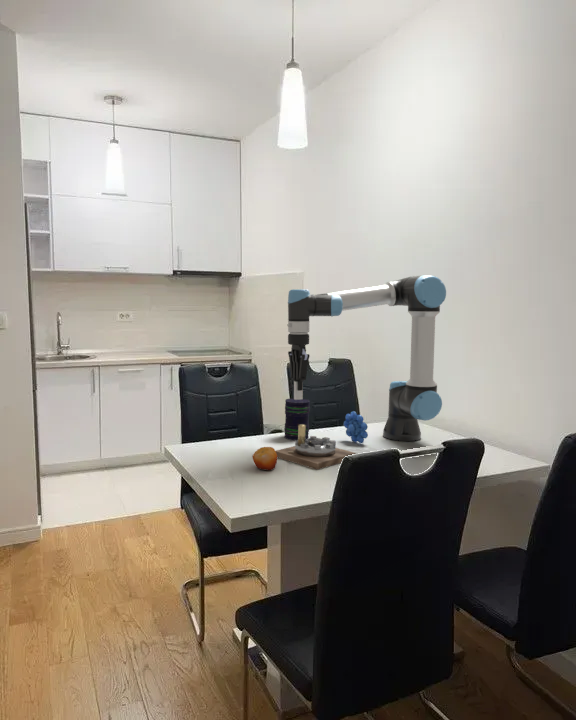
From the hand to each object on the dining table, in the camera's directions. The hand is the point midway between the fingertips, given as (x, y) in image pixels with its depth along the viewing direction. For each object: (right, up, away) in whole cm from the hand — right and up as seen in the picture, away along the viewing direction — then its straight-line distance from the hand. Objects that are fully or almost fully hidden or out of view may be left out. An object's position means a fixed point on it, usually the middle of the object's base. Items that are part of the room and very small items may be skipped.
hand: (298, 399), depth 203 cm
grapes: (+22, -18, +17) cm, 33 cm away
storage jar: (0, -17, +23) cm, 28 cm away
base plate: (+6, -20, -5) cm, 21 cm away
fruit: (-11, -21, -20) cm, 31 cm away
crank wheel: (+6, -18, -6) cm, 19 cm away
